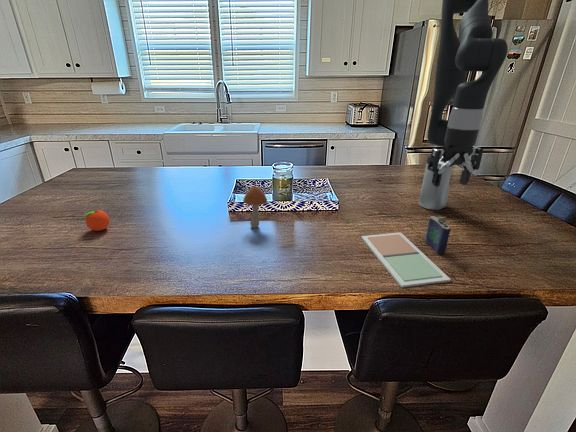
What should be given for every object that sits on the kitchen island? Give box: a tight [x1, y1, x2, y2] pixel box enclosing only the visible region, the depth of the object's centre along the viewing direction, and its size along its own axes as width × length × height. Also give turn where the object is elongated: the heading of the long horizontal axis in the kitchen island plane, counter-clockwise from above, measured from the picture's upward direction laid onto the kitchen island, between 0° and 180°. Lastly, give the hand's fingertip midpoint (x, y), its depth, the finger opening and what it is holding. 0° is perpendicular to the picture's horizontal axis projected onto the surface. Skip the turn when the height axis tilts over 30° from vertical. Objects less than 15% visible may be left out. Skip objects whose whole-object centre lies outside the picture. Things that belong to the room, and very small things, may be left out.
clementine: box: [81, 209, 111, 232], centre depth 106 cm, size 8×7×7 cm
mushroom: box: [242, 185, 268, 229], centre depth 107 cm, size 8×8×15 cm
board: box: [360, 232, 451, 288], centre depth 93 cm, size 14×26×1 cm, turn 11°
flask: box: [423, 215, 451, 257], centre depth 96 cm, size 9×3×11 cm, turn 8°
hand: (449, 184), depth 89 cm, fingers open, 8 cm apart
